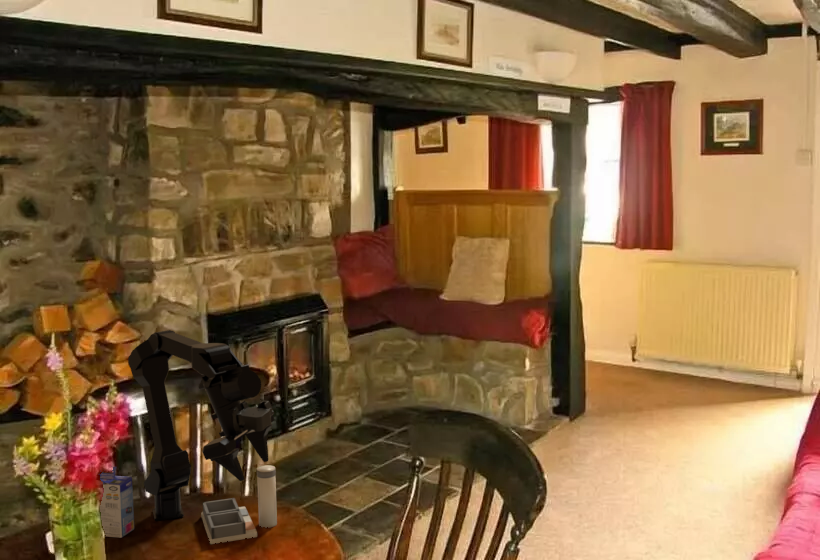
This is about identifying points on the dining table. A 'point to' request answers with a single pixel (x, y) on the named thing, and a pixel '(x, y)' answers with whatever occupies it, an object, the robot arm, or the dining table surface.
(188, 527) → the dining table surface
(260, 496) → the plug
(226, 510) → the socket board
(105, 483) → the ink cartridge box
